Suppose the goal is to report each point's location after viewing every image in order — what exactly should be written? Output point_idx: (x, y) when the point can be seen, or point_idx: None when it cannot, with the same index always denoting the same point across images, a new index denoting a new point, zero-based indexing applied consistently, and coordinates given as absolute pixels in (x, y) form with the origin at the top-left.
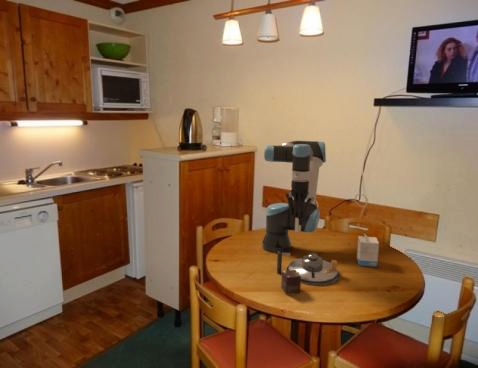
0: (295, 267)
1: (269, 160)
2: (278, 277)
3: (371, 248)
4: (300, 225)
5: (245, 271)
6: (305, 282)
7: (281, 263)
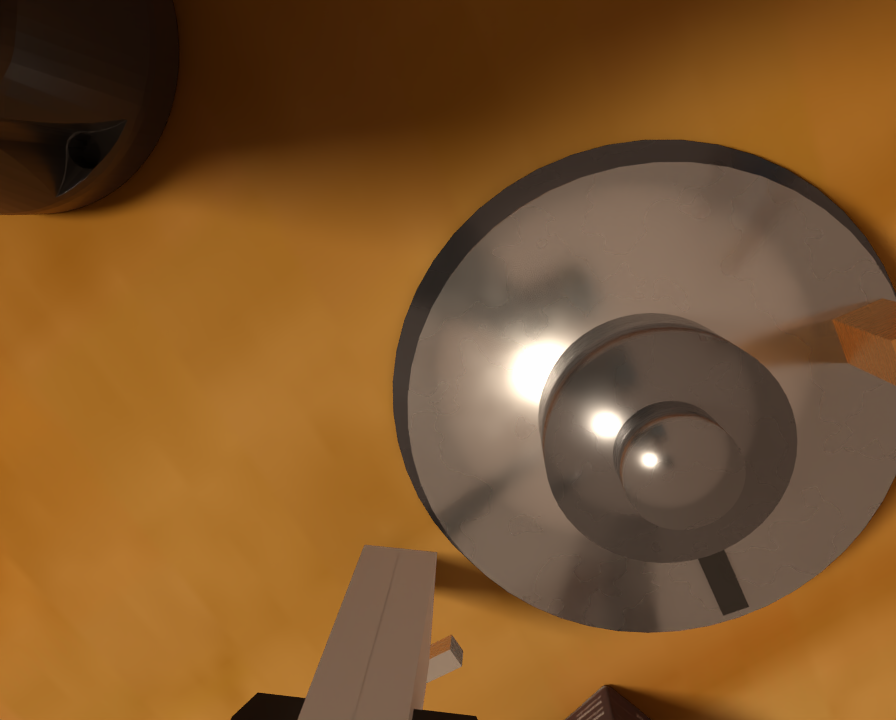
0: (504, 510)
1: None
2: (432, 631)
3: None
4: (419, 670)
5: (174, 682)
6: None
7: None
